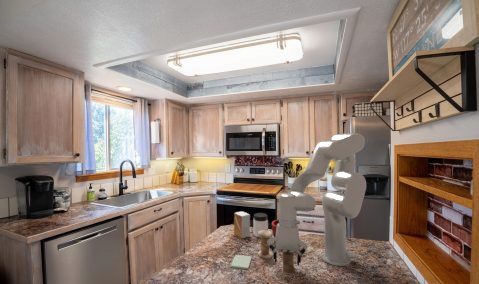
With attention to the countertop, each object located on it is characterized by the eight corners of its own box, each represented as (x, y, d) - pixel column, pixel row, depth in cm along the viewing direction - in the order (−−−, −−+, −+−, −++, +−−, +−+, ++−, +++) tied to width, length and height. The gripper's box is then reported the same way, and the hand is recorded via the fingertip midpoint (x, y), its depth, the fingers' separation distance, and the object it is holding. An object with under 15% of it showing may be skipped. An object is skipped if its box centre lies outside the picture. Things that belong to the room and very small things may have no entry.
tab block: (293, 266, 98) (293, 248, 98) (293, 272, 93) (293, 253, 93) (283, 265, 99) (282, 247, 99) (282, 271, 94) (282, 252, 94)
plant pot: (273, 238, 128) (273, 217, 128) (296, 241, 124) (296, 219, 125) (270, 248, 115) (270, 225, 116) (296, 251, 112) (296, 228, 112)
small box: (233, 234, 134) (233, 212, 135) (242, 231, 138) (242, 211, 138) (241, 238, 128) (241, 216, 128) (250, 236, 131) (250, 214, 132)
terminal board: (251, 258, 105) (251, 256, 105) (248, 269, 96) (248, 267, 96) (235, 256, 107) (235, 254, 107) (230, 267, 97) (230, 265, 97)
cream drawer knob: (272, 252, 111) (272, 230, 111) (271, 259, 104) (271, 236, 104) (258, 251, 112) (258, 229, 112) (257, 258, 105) (257, 234, 106)
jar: (251, 236, 131) (251, 216, 131) (255, 231, 139) (254, 212, 139) (266, 238, 128) (266, 217, 128) (269, 233, 136) (269, 213, 136)
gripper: (307, 221, 98) (306, 260, 98) (268, 218, 102) (267, 255, 101) (309, 227, 91) (308, 269, 90) (267, 223, 94) (266, 263, 94)
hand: (286, 262), depth 96 cm, fingers open, 9 cm apart
